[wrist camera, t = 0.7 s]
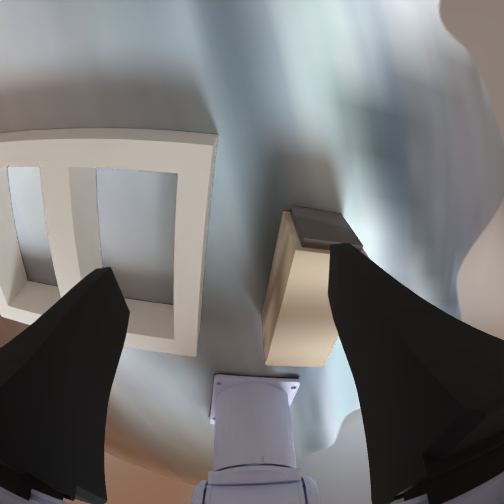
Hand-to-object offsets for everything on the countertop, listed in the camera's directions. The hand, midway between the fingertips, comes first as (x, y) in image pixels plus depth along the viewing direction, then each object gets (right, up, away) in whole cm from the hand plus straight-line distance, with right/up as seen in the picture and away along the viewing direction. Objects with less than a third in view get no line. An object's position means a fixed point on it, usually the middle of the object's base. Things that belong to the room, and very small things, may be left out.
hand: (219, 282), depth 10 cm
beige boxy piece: (+4, 0, +11) cm, 12 cm away
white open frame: (-10, +2, +9) cm, 14 cm away
